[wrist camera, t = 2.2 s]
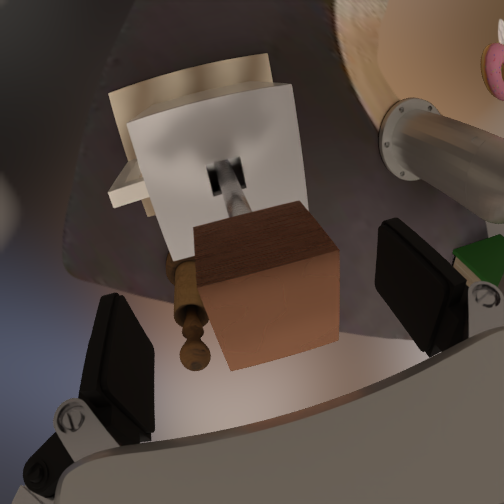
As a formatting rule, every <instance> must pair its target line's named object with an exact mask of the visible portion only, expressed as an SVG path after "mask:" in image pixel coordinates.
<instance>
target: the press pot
mask: <svg viewBox="0 0 504 504" xmlns="http://www.w3.org/2000/svg"><path fill="white" fill-rule="evenodd" d="M126 124H127V128H128V131H129V134H130V138H131V141H132V144H133V148H134V151H135V154H136V157H137V158H136V159H133V160H130V161H128V162H127V164H126V165H125V167H124V168H123V170H122V171H121V173H120V174H119V176H118V177H117V179H116V180H115V182H114V184H113V185H112V187H111V188H110V190H109V191H108V194H109V197H110V200H111V202H112V205H113V207H114V208H116V207H119V206H122V205H125V204H129V203H132V202H135V201H138V200H141V199H145V198H148V197H150V200H151V202H152V205H153V208H154V211H155V214H156V217H157V219H158V222H159V225H160V228H161V230H162V233H163V236H164V238H165V241H166V244H167V246H168V249H169V252H170V254H171V257H172V259H173V261H177V260H180V259H184V258H188V257H192V256H195V252H194V234H193V227H196V226H199V225H203V224H207V223H211V222H214V221H218V220H222V219H226V218H229V216H228V212H227V209H226V205H225V202H224V198H223V195H222V191H221V190H220V191H216V192H212V188H211V184H210V180H209V177H208V173H207V169H206V165H207V164H210V163H214V162H218V161H222V160H226V159H231V158H235V157H239V159H240V163H241V168H242V173H243V178H244V183H245V184H244V185H240V186H241V188H242V190H243V192H244V195H245V197H246V199H247V201H248V203H249V206H250V208H251V210H252V212H254V211H258V210H262V209H266V208H270V207H274V206H278V205H282V204H286V203H290V202H295V201H299V200H300V201H301V203H302V204H303V205H304V206H305V208H306V209H307V210H308V200H307V191H306V183H305V174H304V166H303V158H302V150H301V143H300V136H299V128H298V122H297V115H296V108H295V102H294V96H293V89H292V84H286V83H273V82H258V81H248V82H243V83H238V84H233V85H228V86H223V87H218V88H214V89H209V90H205V91H201V92H197V93H193V94H189V95H185V96H181V97H178V98H174V99H171V100H167V101H164V102H160V103H157V104H154V105H152V106H150V107H149V108H147V109H146V110H144V111H143V112H141V113H140V114H139V115H137V116H136V117H134V118H133V119H132V120H130V121H129V122H127V123H126ZM141 173H142V176H143V177H141V178H139V177H140V175H141ZM308 211H309V210H308Z"/></svg>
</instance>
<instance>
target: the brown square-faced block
mask: <svg viewBox="0 0 504 504" xmlns="http://www.w3.org/2000/svg"><path fill="white" fill-rule="evenodd" d="M206 169H207V173H208V177H209V180H210V184H211V188H212V192H216V191H220V190H221V191H222V195H223V198H224V202H225V205H226V209H227V212H228V216H229V218H226V219H222V220H218V221H214V222H211V223H207V224H203V225H199V226H196V227H193V234H194V252H195V267H196V282H197V289H198V292H199V294H200V297H201V300H202V302H203V305H204V307H205V310H206V312H207V315H208V317H209V320H210V322H211V325H212V327H213V330H214V332H215V335H216V337H217V339H218V342H219V344H220V347H221V349H222V352H223V354H224V356H225V359H226V361H227V363H228V366H229V368H230V370H231V371H234V370H239V369H243V368H247V367H251V366H254V365H258V364H262V363H266V362H270V361H273V360H277V359H280V358H284V357H287V356H291V355H294V354H297V353H301V352H304V351H307V350H311V349H314V348H317V347H320V346H323V345H326V344H329V343H332V342H335V341H338V340H339V304H340V264H339V249H338V248H337V246H336V245H335V244H334V242H333V241H332V240H331V239H330V237H329V236H328V235H327V234H326V232H325V231H324V230H323V229H322V227H321V226H320V225H319V224H318V222H317V221H316V220H315V219H314V217H313V216H312V215H311V214H310V212H309V211H308V210H307V209H306V208H305V206H304V205H303V204H302V203H301V201H300V200H299V201H295V202H290V203H286V204H282V205H278V206H274V207H270V208H266V209H262V210H258V211H254V212H252V210H251V208H250V206H249V203H248V201H247V199H246V197H245V195H244V192H243V190H242V188H241V186H240V185H244V184H245V183H244V178H243V173H242V168H241V163H240V159H239V157H235V158H231V159H226V160H222V161H218V162H214V163H210V164H207V165H206Z"/></svg>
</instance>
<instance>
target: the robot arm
mask: <svg viewBox="0 0 504 504" xmlns="http://www.w3.org/2000/svg"><path fill="white" fill-rule="evenodd" d="M379 149H380V154H381V157H382V160H383V162H384V164H385V166H386V167H387V169H388V170H389V171H390V172H391V173H392V174H394V175H395V176H397V177H398V178H400V179H403V180H407V181H414V180H419V179H422V180H424V181H425V182H427V183H429V184H430V185H432V186H434V187H435V188H437V189H438V190H440V191H441V192H443V193H445V194H446V195H448V196H449V197H451V198H452V199H454V200H455V201H457V202H458V203H460V204H461V205H463V206H464V207H465V208H467V209H468V210H470V211H471V212H473V213H474V214H476V215H477V216H479V217H480V218H481V219H483V220H485V221H487V222H490V223H495V224H502V223H504V139H503V138H501V137H498V136H496V135H494V134H491V133H489V132H486V131H484V130H481V129H479V128H476V127H473V126H471V125H468V124H465V123H462V122H460V121H457V120H454V119H451V118H448V117H445V116H441V115H440V113H439V112H438V110H437V109H436V108H435V107H434V106H433V105H432V104H431V103H429V102H428V101H426V100H423V99H419V98H406V99H403V100H401V101H399V102H397V103H396V104H395V105H394V106H393V107H391V109H390V110H389V111H388V113H387V114H386V116H385V118H384V120H383V122H382V125H381V128H380V134H379ZM466 282H467V280H466V279H465V278H464V277H463V276H462V275H461V274H460V273H459V272H458V271H457V270H456V269H455V268H454V267H453V266H452V265H451V264H450V263H449V262H448V261H447V260H446V259H444V258H443V257H442V256H441V255H440V254H439V253H438V252H437V251H436V250H435V249H434V248H432V247H431V246H430V245H429V244H428V243H427V242H426V241H425V240H423V239H422V238H421V237H420V236H419V235H418V234H417V233H415V232H414V231H413V230H412V229H411V228H410V227H408V226H407V225H406V224H405V223H404V222H402V221H401V220H400V219H399V218H392V219H389V220H385V221H383V222H382V224H381V226H379V228H378V245H377V260H376V273H375V287H376V290H377V291H378V293H379V294H380V295H381V297H382V298H383V299H384V301H385V302H386V303H387V305H388V306H389V307H390V309H391V310H392V311H393V313H394V314H395V315H396V317H397V318H398V319H399V321H400V322H401V324H402V325H403V326H404V328H405V329H406V331H407V332H408V333H409V335H410V336H411V338H412V339H413V340H414V342H415V343H416V345H417V346H418V347H419V349H420V350H421V351H422V352H424V351H425V352H426V354H427V355H428V356H429V359H427V360H425V361H423V362H421V363H419V364H417V365H415V366H413V367H410V368H408V369H406V370H404V371H402V372H400V373H397V374H395V375H393V376H391V377H388V378H386V379H384V380H381V381H379V382H377V383H374V384H372V385H369V386H367V387H364V388H362V389H359V390H357V391H354V392H352V393H349V394H346V395H343V396H341V397H338V398H335V399H332V400H330V401H327V402H324V403H321V404H318V405H315V406H312V407H309V408H305V409H302V410H299V411H296V412H292V413H290V414H286V415H282V416H279V417H275V418H272V419H268V420H264V421H260V422H256V423H252V424H248V425H244V426H239V427H235V428H230V429H226V430H221V431H216V432H211V433H206V434H201V435H194V436H188V437H182V438H176V439H170V440H163V441H156V442H148V443H140V442H145V441H151V433H153V432H154V431H155V418H154V417H155V415H154V356H155V355H154V354H155V353H154V348H153V345H152V343H151V342H150V340H149V338H148V337H147V335H146V334H145V332H144V330H143V328H142V327H141V325H140V324H139V322H138V320H137V318H136V317H135V315H134V313H133V311H132V310H131V308H130V306H129V304H128V302H127V301H126V299H125V297H124V296H123V295H121V296H119V294H118V293H112V294H108V295H104V296H102V297H101V299H100V302H99V306H98V310H97V314H96V318H95V321H94V326H93V330H92V334H91V338H90V340H89V344H88V349H87V353H86V358H85V363H84V368H83V373H82V379H81V385H80V390H79V397H78V398H72V399H69V400H66V401H65V402H63V403H62V404H61V405H60V406H59V407H58V409H57V410H56V412H55V415H54V420H53V423H54V428H55V430H56V432H55V433H54V434H53V435H52V436H51V437H50V438H49V439H48V440H47V441H46V442H45V443H44V444H43V445H42V446H41V447H40V448H39V449H38V450H37V451H36V452H35V453H34V454H33V455H32V456H31V457H30V458H29V459H28V461H27V462H26V464H25V466H24V469H23V478H24V482H25V486H22V485H21V486H20V488H19V490H18V491H17V494H16V495H15V498H14V500H13V502H12V504H504V273H503V276H502V278H501V280H500V283H499V285H498V287H496V286H495V285H493V284H492V283H489V282H486V281H478V282H474V283H473V284H471V285H470V287H468V286H467V284H466ZM439 352H441V353H439ZM438 353H439V354H438ZM436 354H437V355H436ZM434 355H435V356H434ZM432 356H433V357H432ZM430 357H431V358H430Z"/></svg>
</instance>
